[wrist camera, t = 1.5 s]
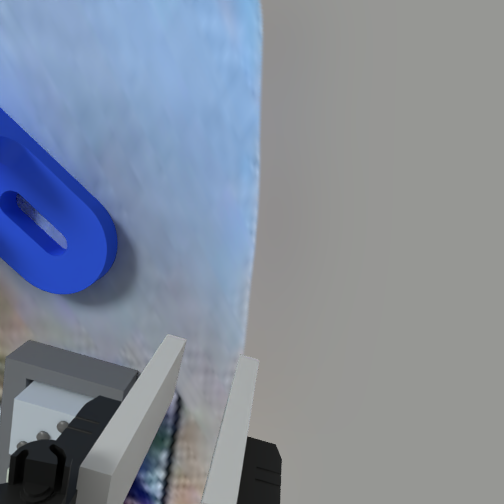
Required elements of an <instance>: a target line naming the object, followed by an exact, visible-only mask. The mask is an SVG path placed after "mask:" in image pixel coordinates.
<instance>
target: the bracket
mask: <svg viewBox="0 0 504 504" xmlns="http://www.w3.org/2000/svg"><path fill="white" fill-rule="evenodd" d="M17 193H19V194H20V195H21V196H22V197H23V198H24V199H25V200H26V201H27V202H28V203H30V204H31V205H32V206H33V207H34V208H35V209H36V210H37V211H38V212H39V213H40V214H41V215H42V216H44V217H45V218H46V219H47V220H48V221H49V222H50V223H51V224H52V225H53V226H54V227H55V228H56V229H58V230H59V231H60V232H61V233H62V234H63V235H64V236H65V238H66V240H67V250H66V249H64V248H62V247H61V246H60V245H59V244H58V243H56V242H55V241H54V240H53V239H52V238H51V237H50V236H49V235H48V234H47V233H46V232H45V231H43V230H42V229H41V228H40V227H39V226H38V225H37V224H36V223H35V222H34V221H33V220H32V219H30V218H29V217H28V216H27V215H26V214H25V213H24V212H23V211H22V210H21V209H20V208H19V207H18V205H17V202H16V196H17ZM117 243H118V242H117V233H116V229H115V226H114V223H113V221H112V219H111V217H110V215H109V213H108V212H107V210H106V209H105V208H104V207H103V205H102V204H101V203H100V202H99V201H98V200H97V199H96V198H94V197H93V196H92V195H91V194H90V193H89V192H88V191H87V190H86V189H85V188H84V187H83V186H82V185H81V184H80V183H79V182H78V181H77V180H76V179H75V178H73V177H72V176H71V175H70V174H69V173H68V172H67V171H66V170H65V169H64V168H63V167H62V166H61V165H60V164H59V163H58V162H57V161H56V160H55V159H54V158H52V157H51V156H50V155H49V154H48V153H47V152H46V151H45V150H44V149H43V148H42V147H41V146H40V145H39V144H38V143H37V142H36V141H35V140H34V139H33V138H31V137H30V136H29V135H28V134H27V133H26V132H25V131H24V130H23V129H22V128H21V127H20V126H19V125H18V124H17V123H16V122H15V121H14V120H13V119H12V118H10V117H9V116H8V115H7V114H6V113H5V112H4V111H3V110H2V109H1V108H0V257H1V258H2V259H3V260H4V261H5V262H6V263H7V264H8V265H10V266H11V267H12V268H13V269H14V270H15V271H16V272H17V273H19V274H20V275H21V276H22V277H23V278H24V279H25V280H27V281H28V282H29V283H30V284H32V285H33V286H35V287H37V288H39V289H41V290H44V291H47V292H50V293H54V294H71V293H76V292H79V291H81V290H83V289H85V288H87V287H88V286H90V285H91V284H93V283H94V282H96V281H97V280H99V279H100V278H101V277H103V276H104V275H105V274H106V273H107V272H108V270H109V269H110V268H111V266H112V264H113V262H114V260H115V257H116V253H117Z"/></svg>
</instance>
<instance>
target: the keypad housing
mask: <svg viewBox="0 0 504 504" xmlns="http://www.w3.org/2000/svg"><path fill="white" fill-rule="evenodd" d="M137 372H138V371H137V370H133V369H130V368H126V367H123V366H119V365H116V364H112V363H109V362H105V361H102V360H98V359H95V358H91V357H88V356H84V355H81V354H77V353H74V352H70V351H66V350H63V349H59V348H56V347H52V346H49V345H45V344H42V343H38V342H35V341H31V340H29V341H27V342H26V343H24V344H23V345H22V346H20V347H19V348H18V349H16V350H15V351H14V352H12V353H11V354H10V355H8V356H7V357H6V360H5V371H4V383H3V394H2V405H1V417H0V484H3V483H6V478H7V469H8V468H9V466H10V456H11V454H9V447H10V437H11V427H12V417H13V407H14V398H16V397H17V396H18V395H19V394H20V393H21V392H22V391H23V390H24V389H25V388H27V387H28V386H29V385H30V384H31V383H32V382H33V381H38V382H41V383H45V384H48V385H51V386H55V387H58V388H62V389H65V390H69V391H72V392H76V393H79V394H83V395H86V396H90V397H93V398H96V397H98V396H99V395H100V396H104V397H107V398H111V399H114V400H118V401H121V402H123V400H124V399H125V397H126V396H127V394H128V393H129V391H130V390H131V388H132V387H133V385H134V384H135V382H136V377H137Z"/></svg>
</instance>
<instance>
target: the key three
mask: <svg viewBox="0 0 504 504" xmlns="http://www.w3.org/2000/svg"><path fill="white" fill-rule="evenodd" d="M93 399H94V398H93V397H90V396H86V395H83V394H79V393H76V392H72V391H69V390H65V389H62V388H58V387H55V386H51V385H48V384H45V383H41V382H38V381H33V382H32V383H31V384H30V385H29V386H28V387H27V388H25V389H24V390H23V391H22V392H21V393H20V394H19V395H18V396H17V397H16V398H14V407H13V417H12V427H11V437H10V447H9V454H11V455H12V454H13V453H14V452H15V451H16V450H17V449H18V448H19V447H21V446H23V445H25V444H27V443H29V442H32V441H37V440H41V439H48V440H57V438H58V437H59V436H60V435H61V433H62V432H63V431H64V430H65V428H67V427H68V425H69V423H70V422H71V421H72V420H73V418H75V417H76V415H77V413H78V412H79V411H80V410H81V408H82V407H83V406H84V405H85V404H86V403H87V402H89V401H91V400H93Z"/></svg>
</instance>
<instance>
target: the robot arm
mask: <svg viewBox="0 0 504 504" xmlns="http://www.w3.org/2000/svg"><path fill="white" fill-rule="evenodd" d="M185 344H186V339H184V338H180V337H177V336H173V335H169V334H167V336H166V337H165V339H164V340H163V342H162V343H161V345H160V346H159V348H158V349H157V351H156V352H155V354H154V355H153V357H152V358H151V360H150V361H149V363H148V364H147V366H146V367H145V369H144V370H143V372H142V373H141V375H140V376H139V378H138V379H137V381H136V382H135V384H134V385H133V387H132V388H131V390H130V391H129V393H128V394H127V396H126V397H125V399H124V400H123V402H121V401H118V400H114V399H111V398H107V397H104V396H100V395H99V396H98V397H96V398H94V399H93V400H91V401H89V402H87V403H86V404H85V405H84V406H83V407H82V408H81V410H80V411H79V412H78V413H77V415H76V417H75V418H73V420H72V421H71V422H70V423H69V425H68V427H67V428H65V430H64V431H63V432H62V433H61V435H60V436H59V437H58V438H57V440H48V439H41V440H37V441H32V442H29V443H27V444H25V445H23V446H21V447H19V448H18V449H17V450H16V451H15V452H14V453H13V454H12V455H11V456H10V466H9V476H8V482H6V483H3V484H0V504H123V503H124V501H125V498H126V496H127V494H128V492H129V490H130V488H131V486H132V484H133V482H134V479H135V477H136V475H137V473H138V471H139V469H140V467H141V465H142V463H143V460H144V458H145V456H146V454H147V452H148V450H149V448H150V446H151V444H152V441H153V439H154V437H155V435H156V433H157V431H158V429H159V427H160V425H161V422H162V420H163V418H164V416H165V414H166V412H167V410H168V408H169V406H170V404H171V401H172V399H173V396H174V392H175V387H176V383H177V379H178V374H179V370H180V365H181V361H182V357H183V352H184V348H185ZM258 364H259V360H258V359H254V358H251V357H248V356H244V355H241V354H240V357H239V360H238V364H237V368H236V371H235V375H234V378H233V382H232V386H231V389H230V393H229V397H228V400H227V404H226V407H225V411H224V415H223V419H222V423H221V426H220V430H219V434H218V438H217V442H216V446H215V450H214V454H213V457H212V461H211V465H210V469H209V473H208V477H207V481H206V485H205V488H204V492H203V496H202V500H201V504H280V490H281V489H280V486H281V463H282V459H281V456H280V454H279V451H278V449H277V447H276V445H275V444H272V443H268V442H265V441H262V440H258V439H254V438H251V437H248V436H247V434H248V427H249V422H250V415H251V409H252V403H253V396H254V390H255V384H256V377H257V371H258Z"/></svg>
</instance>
